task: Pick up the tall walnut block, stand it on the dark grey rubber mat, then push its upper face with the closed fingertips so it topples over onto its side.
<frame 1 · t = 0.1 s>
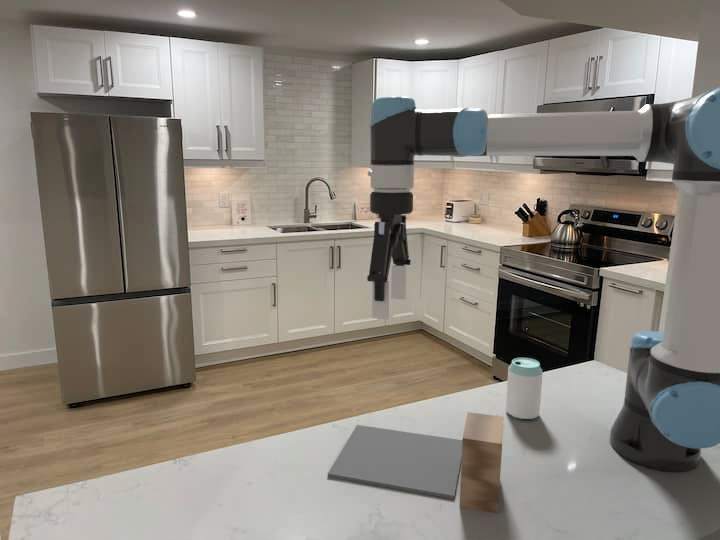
hand: (390, 307, 96), 28 cm above the countertop, tool pointing down, fingers open, 13 cm apart
walnut block: (480, 492, 88), on the countertop
can: (522, 414, 115), on the countertop
mat: (399, 459, 98), on the countertop
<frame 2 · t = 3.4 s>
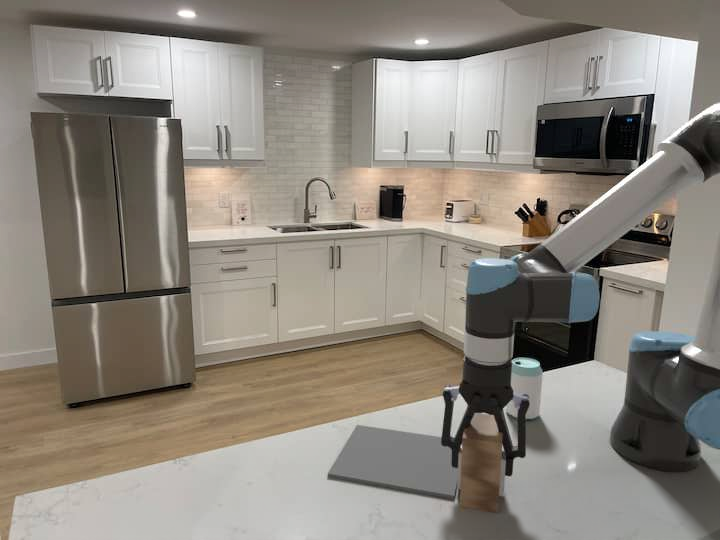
hand: (480, 487, 88), 1 cm above the countertop, tool pointing down, fingers closed on walnut block, 6 cm apart
walnut block: (480, 492, 88), on the countertop, touching gripper
everything else where it was.
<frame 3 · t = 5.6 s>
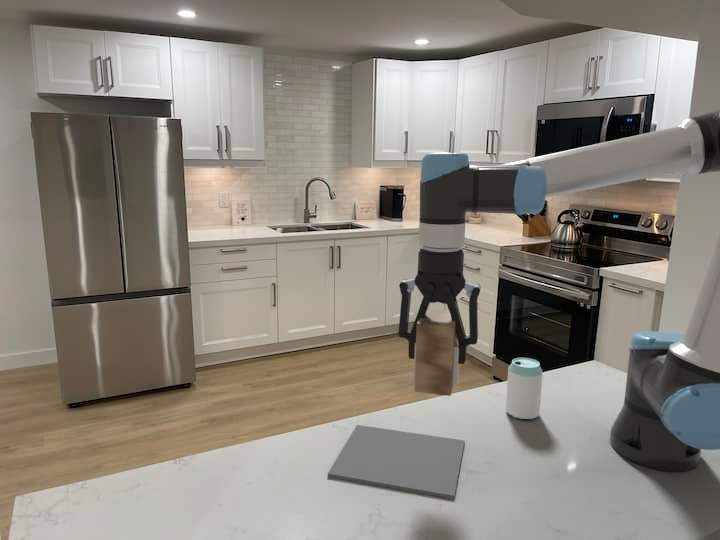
hand: (436, 377, 92), 17 cm above the countertop, tool pointing down, fingers closed on walnut block, 6 cm apart
walnut block: (436, 382, 92), point 16 cm above the countertop, touching gripper
everything else where it was.
when the fingers open (2 cm above the countertop, at t = 8.2 s): walnut block stays where it is, resting on mat.
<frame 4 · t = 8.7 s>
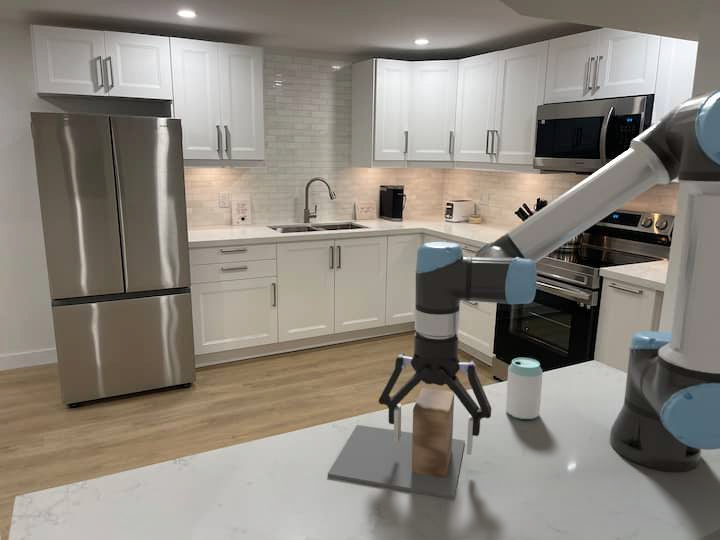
hand: (432, 445, 95), 4 cm above the countertop, tool pointing down, fingers open, 12 cm apart
walnut block: (432, 461, 96), point 1 cm above the countertop, touching mat
everything else where it was.
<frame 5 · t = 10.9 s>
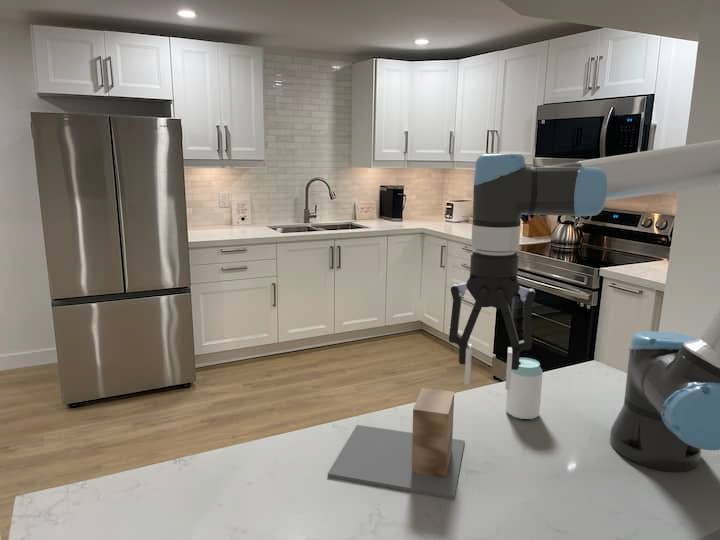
hand: (487, 383, 90), 17 cm above the countertop, tool pointing down, fingers open, 6 cm apart
nothing on the countertop moved.
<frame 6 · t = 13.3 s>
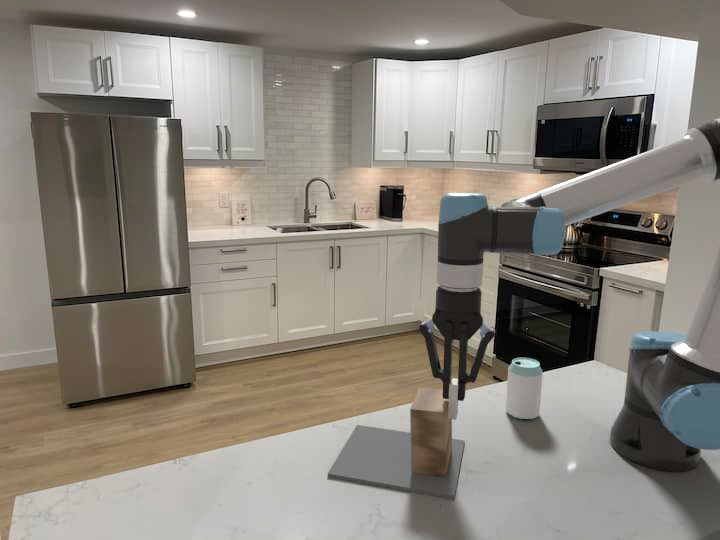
hand: (452, 415, 93), 10 cm above the countertop, tool pointing down, fingers closed
walnut block: (432, 460, 96), point 1 cm above the countertop, touching gripper, mat
everything else where it was.
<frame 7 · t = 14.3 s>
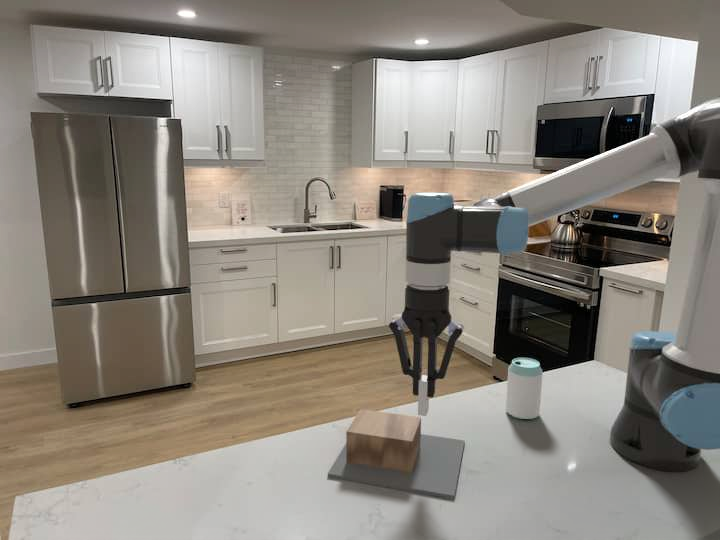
hand: (423, 412, 94), 10 cm above the countertop, tool pointing down, fingers closed
walnut block: (416, 443, 96), point 4 cm above the countertop, tilted 90°, touching mat
everything else where it was.
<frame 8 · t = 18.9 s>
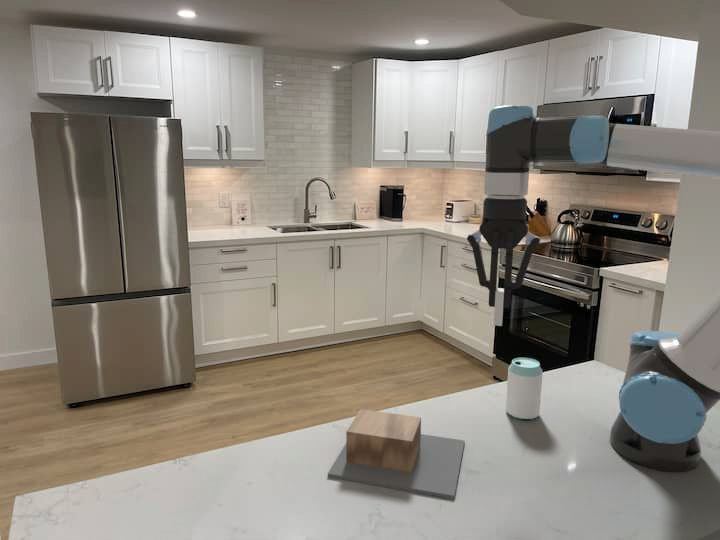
hand: (498, 323, 98), 24 cm above the countertop, tool pointing down, fingers closed
nothing on the countertop moved.
at the end: walnut block tilted 90°; walnut block inside the target area (6.5 cm from its centre), point 3.6 cm above the countertop; the gripper is holding nothing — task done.
